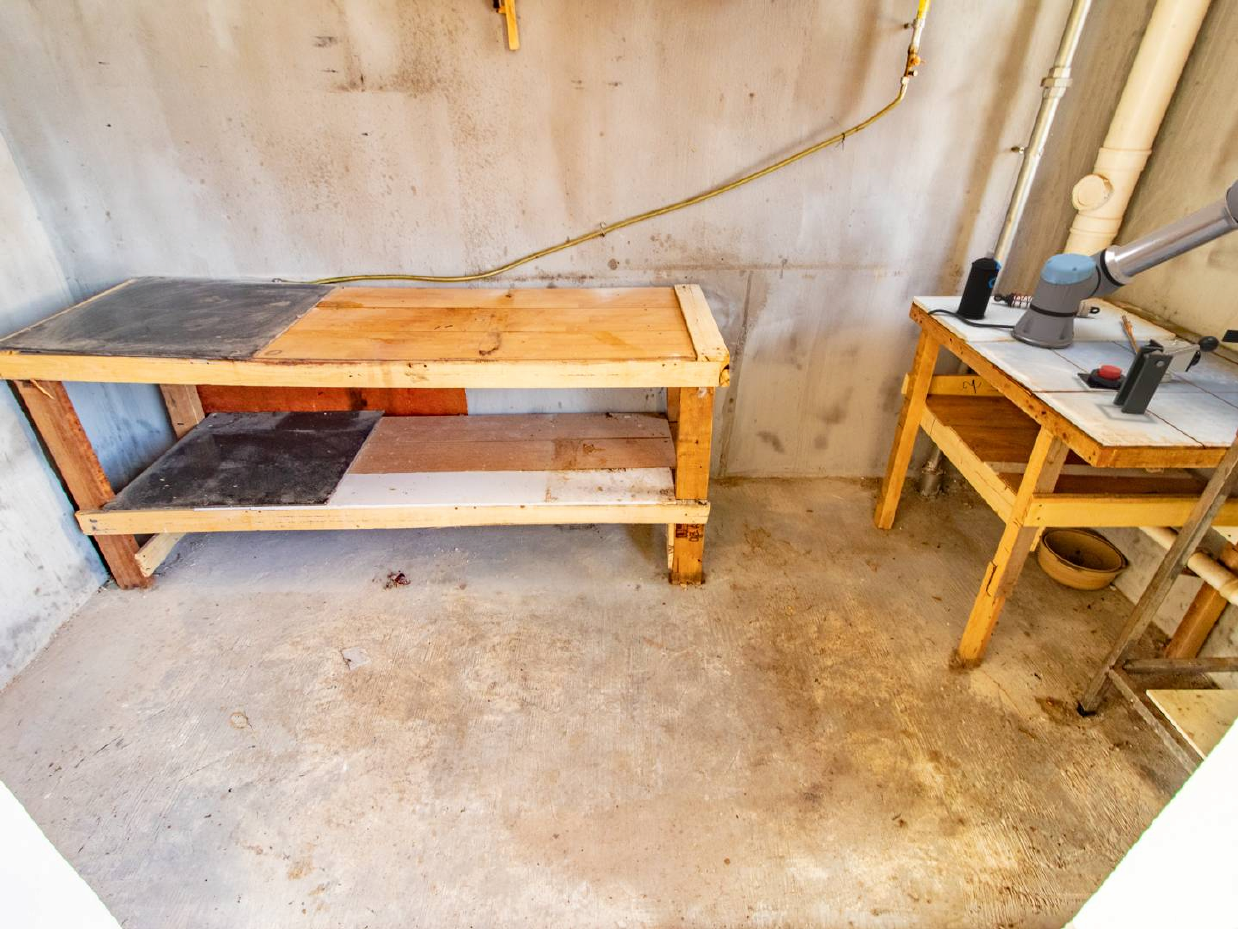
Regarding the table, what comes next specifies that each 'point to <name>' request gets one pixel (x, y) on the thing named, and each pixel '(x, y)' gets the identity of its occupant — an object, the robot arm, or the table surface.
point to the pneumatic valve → (1179, 361)
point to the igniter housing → (1101, 380)
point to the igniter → (1110, 372)
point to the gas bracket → (1142, 380)
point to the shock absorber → (1081, 311)
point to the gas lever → (1192, 347)
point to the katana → (1130, 333)
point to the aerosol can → (979, 287)
